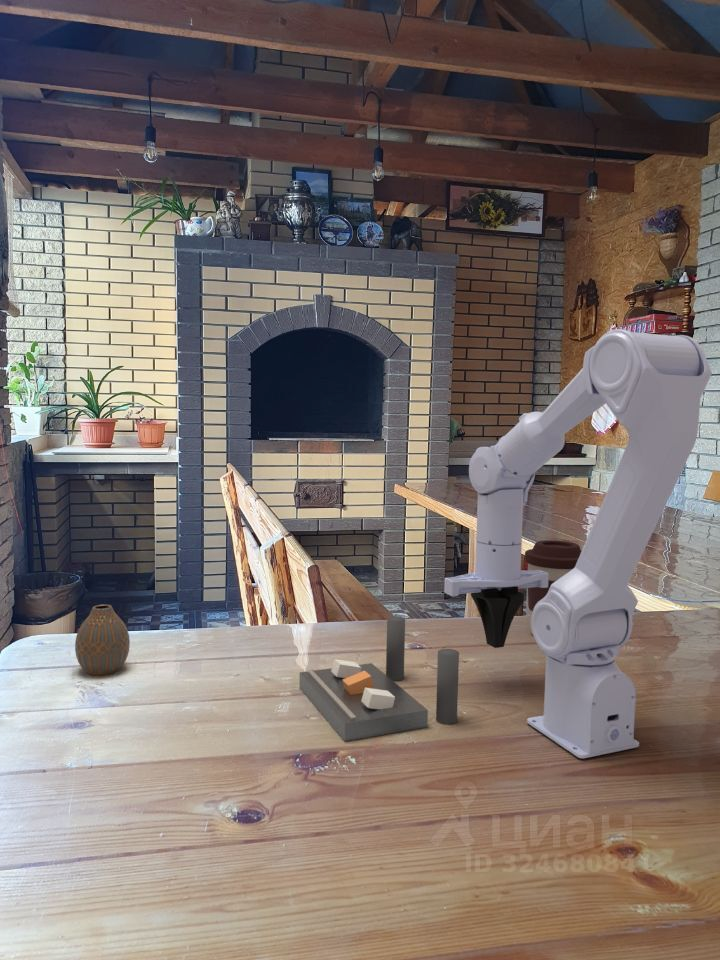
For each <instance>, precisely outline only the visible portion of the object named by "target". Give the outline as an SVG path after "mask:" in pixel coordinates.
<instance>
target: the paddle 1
mask: <svg viewBox="0 0 720 960" xmlns="http://www.w3.org/2000/svg"><path fill="white" fill-rule="evenodd" d="M359 665H360V664H359V663H357V662H355V661H349V660H342V659H337V658H335V659H333V662H332V666H331V668H332V670H331V672H332V673H333V674H334V675H335V676H336V677H341V678H348V677H350V676H352V675H355V674H357V673H360V671H361V667H360V666H359Z"/></svg>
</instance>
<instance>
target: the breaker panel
mask: <svg viewBox="0 0 720 960" xmlns="http://www.w3.org/2000/svg"><path fill="white" fill-rule="evenodd" d="M358 665H359V666H360V667H361V671H360V672H362V671H366V672H367V673H368V674H369V675H370V676H371V678H372V682H373V686H374V689H379V690H386V691H389V692H390V693H391V694H392V695H393V696H394V697H395V700H394V704H393V708H386V709H372V708H368V707H367V706H366V705H365V704H364V703H363V702H362V701H361V700H362V696H363V693H360V694H353V695H350V694H349V693H348V692H347V691H346V690H345V688H344V684H343V681H342V680H343V679H345V678H341V677H336V676H335V675H334V674H333V673H332V672H331V670H332V667H331V668H324V669H316V670H313V669H310V670H307V671H300V672H299V689H300V690H301V691H302V693H303V694H304V695H305V697H307V698H308V699H309V701H310V702H311V703H312V705H314V707H315V708H316V710H318V711H319V713H320V714H321V715H322V717H324V719H325V720H326V721H327V723H329V725H330V726H331V727H332V728H333V729H334V732H336V733H337V734H338V736H340V738H341V739H342V740H343V742H349V741H355V740H356V741H357V740H361V739H366V738H367V739H368V738H372V737H373V738H374V737H379V736H384V735H390V734H396V733H401V732H407V731H413V730H419V729H420V730H421V729H425V728H428V721H429V718H428V716H429V710H428V709H427V708H426V707H425V706H424V705H422V704H421V703H420V702H419V701H418V700H417V699H416V698H414V697H413V696H412V695H411V694H409V693H408V692H406V690H404V689H403V688H402V687H401V686H399V684H397V683H396V681H392V680H391V679H390V678H389V677H388V676H386V673H384V672H383V671H381V670H380V669H379V668H378V667H377V666H376V665H374V664H373V663H372V662H370V663H363V664H358Z"/></svg>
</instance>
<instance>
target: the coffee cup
mask: <svg viewBox="0 0 720 960" xmlns="http://www.w3.org/2000/svg"><path fill="white" fill-rule="evenodd" d="M581 552H582V549H581V547H580V544H577V543H575V542H571V541H565V540H555V539H554V540H553V539H551V540H548V539H545V540H539V541H536V542H535V543H534V545H533V547H532V548H529V549H527V550H525V552H524V561H525V562H526V564H528V565H527V566H528V571H535V570H540V571H543V572H546V573H549V576H548V587H547V588H540V587H531V588H527V605H528V609H529V627H530V628H529V630H530V631H529V632H530V633H531V635H532V636H533V632H532V627H531V618H532V613H533V609H534V607H535V605H536V604H537V603H538V602H539V601H540V600H541V599H543V598H544V597H545V596H546V595H547V593H548V591H549V589H550V586H551V585H552V584H553V583H554V582H555V581H557V580H558V579H559V578H561V577H562V576H564V575H565V574H567V573H568V572H570V571H571V570H572V569H573V568H575V566H576V563H577V561H578V559H579V556H580V554H581Z"/></svg>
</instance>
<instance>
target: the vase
mask: <svg viewBox="0 0 720 960" xmlns="http://www.w3.org/2000/svg"><path fill="white" fill-rule="evenodd" d="M91 608H92V609H91V611H90V613H89V614H88V616H87V617H86V618H85V620H84V621H83V622H82V624H81V626H80V627H79V629H78V630H77V634H76V636H75V641H74V642H75V643H74V651H75V657H76V660H77V662H78V664H79V666H80V667H81V668H82V669H83V670H84V671H85V672H86V673H87V674H89V675H92V676H104V675H110V674H114V673H116V672H117V671H118V670H120V669H121V668H122V666H123V665H124V664H125V663H126V662H127V659H128V657H129V652H130V647H131V645H130V634H129V630H128V627H127V625H126V624H125V622H124V621H123V620H122V619H121V618H120V616H119V615H117V613H116V612H115V610H114V608H113V607H112V605H111V604H97V605H94V606H92V607H91Z"/></svg>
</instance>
